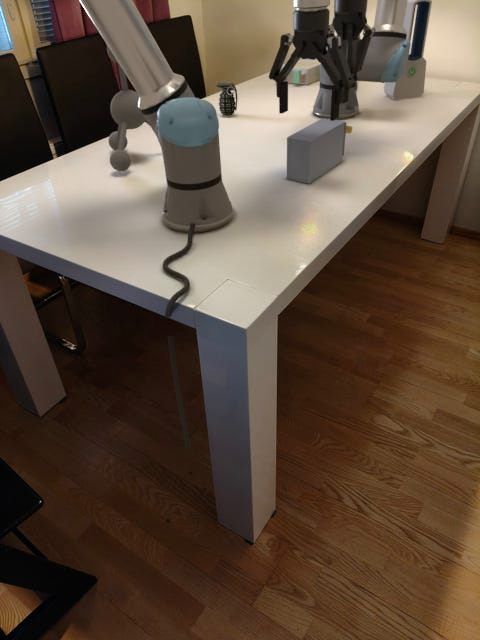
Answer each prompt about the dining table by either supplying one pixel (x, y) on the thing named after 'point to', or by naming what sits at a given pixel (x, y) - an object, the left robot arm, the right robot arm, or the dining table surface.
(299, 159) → the cabinet
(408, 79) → the electronic device
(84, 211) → the dining table surface
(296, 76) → the decorative block
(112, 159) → the molecular model
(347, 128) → the drawer
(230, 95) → the grenade
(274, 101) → the dining table surface
